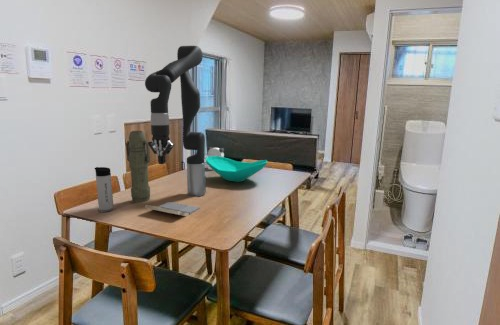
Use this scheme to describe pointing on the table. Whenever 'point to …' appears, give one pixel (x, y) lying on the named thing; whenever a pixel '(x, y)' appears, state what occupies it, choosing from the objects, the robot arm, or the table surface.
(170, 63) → the robot arm
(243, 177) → the table top decor
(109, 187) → the travel mug
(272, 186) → the table surface
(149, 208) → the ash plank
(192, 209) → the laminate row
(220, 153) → the panda figurine
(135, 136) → the olive green canister
